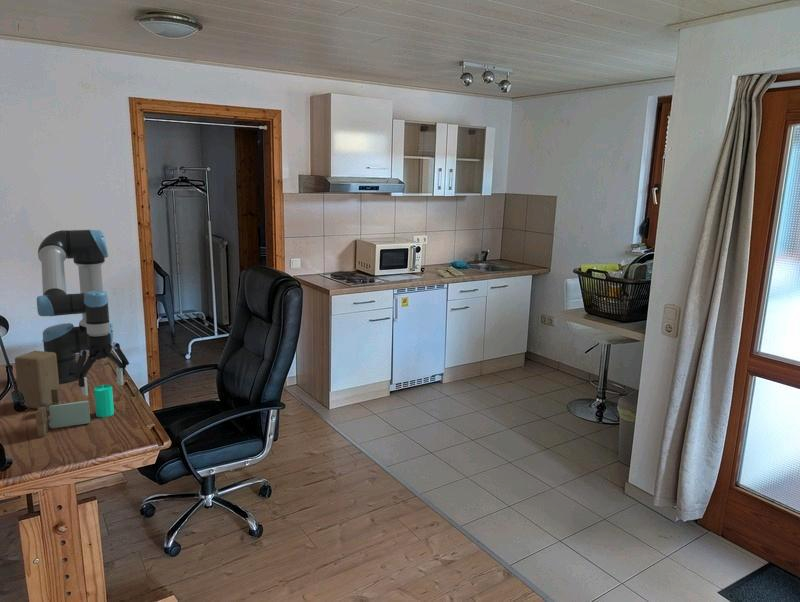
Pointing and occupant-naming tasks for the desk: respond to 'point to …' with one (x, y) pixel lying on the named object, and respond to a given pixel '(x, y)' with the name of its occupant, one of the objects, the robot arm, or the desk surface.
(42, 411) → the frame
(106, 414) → the candle
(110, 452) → the desk surface
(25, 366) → the wooden block
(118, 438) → the desk surface
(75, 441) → the desk surface
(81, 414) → the sage green plank
